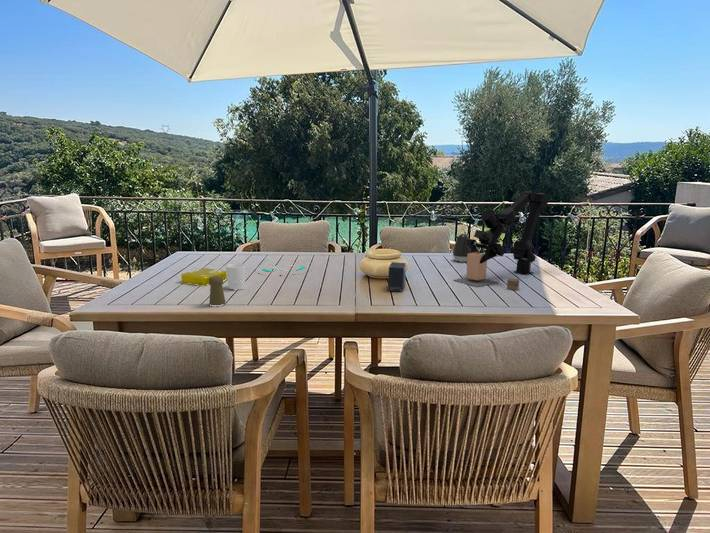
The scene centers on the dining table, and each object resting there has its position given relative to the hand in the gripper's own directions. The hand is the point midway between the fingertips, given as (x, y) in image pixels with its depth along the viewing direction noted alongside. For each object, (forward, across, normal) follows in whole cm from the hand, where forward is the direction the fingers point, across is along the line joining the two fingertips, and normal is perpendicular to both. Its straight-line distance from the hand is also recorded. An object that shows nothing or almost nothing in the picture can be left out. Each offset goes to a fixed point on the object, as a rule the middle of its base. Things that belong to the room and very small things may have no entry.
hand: (474, 261), depth 206 cm
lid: (+50, -70, -36) cm, 93 cm away
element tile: (+78, -68, -64) cm, 122 cm away
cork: (+82, -28, -69) cm, 111 cm away
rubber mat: (+6, 0, +8) cm, 9 cm away
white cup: (+72, -47, -59) cm, 104 cm away
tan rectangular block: (+4, 0, +6) cm, 8 cm away
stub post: (+3, +17, +10) cm, 20 cm away
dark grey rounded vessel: (-14, -36, +28) cm, 47 cm away
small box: (+32, -10, -19) cm, 38 cm away
